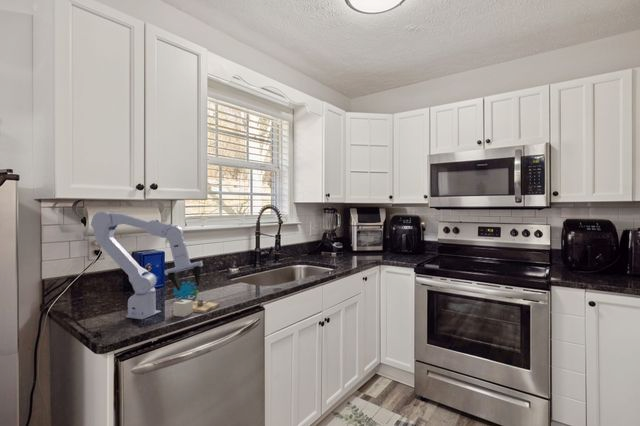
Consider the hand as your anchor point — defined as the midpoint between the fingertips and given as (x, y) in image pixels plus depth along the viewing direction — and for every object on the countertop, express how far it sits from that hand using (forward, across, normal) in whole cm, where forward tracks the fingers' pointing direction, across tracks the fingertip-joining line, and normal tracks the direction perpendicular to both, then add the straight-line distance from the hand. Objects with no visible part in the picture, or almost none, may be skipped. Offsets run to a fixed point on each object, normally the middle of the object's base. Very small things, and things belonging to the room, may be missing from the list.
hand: (189, 287), depth 133 cm
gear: (+9, -9, +20) cm, 23 cm away
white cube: (+9, -4, -3) cm, 10 cm away
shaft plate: (+10, +1, +5) cm, 12 cm away
